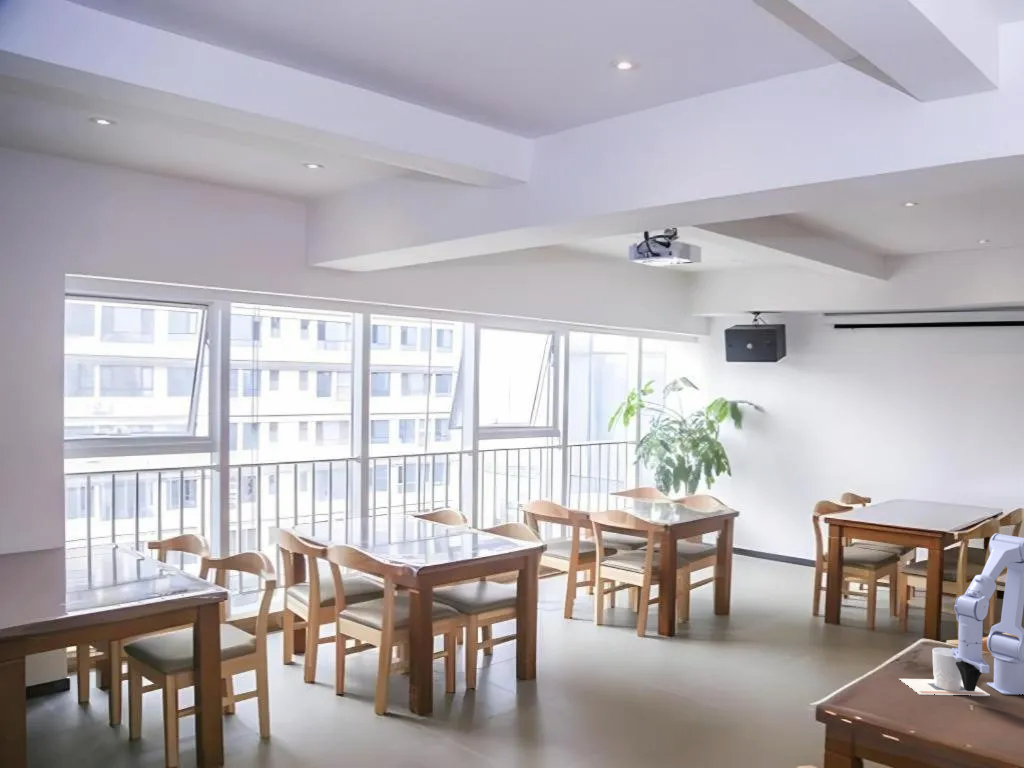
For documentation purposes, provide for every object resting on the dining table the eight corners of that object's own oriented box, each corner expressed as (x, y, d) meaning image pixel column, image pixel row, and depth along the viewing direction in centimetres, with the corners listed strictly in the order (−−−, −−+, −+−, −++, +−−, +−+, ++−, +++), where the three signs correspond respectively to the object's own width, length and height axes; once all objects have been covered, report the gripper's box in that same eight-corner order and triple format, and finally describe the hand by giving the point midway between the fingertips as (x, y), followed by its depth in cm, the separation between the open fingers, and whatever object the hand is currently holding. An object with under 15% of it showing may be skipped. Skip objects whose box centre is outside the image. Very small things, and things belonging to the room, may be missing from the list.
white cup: (968, 692, 227) (969, 656, 227) (940, 691, 228) (941, 656, 228) (953, 682, 235) (954, 647, 235) (926, 681, 235) (927, 647, 235)
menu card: (966, 680, 237) (966, 679, 237) (990, 696, 225) (990, 695, 225) (898, 679, 237) (898, 678, 237) (919, 694, 225) (919, 694, 225)
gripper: (941, 632, 228) (940, 680, 228) (971, 648, 213) (970, 700, 213) (966, 632, 228) (965, 680, 228) (997, 649, 213) (996, 700, 213)
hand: (969, 690), depth 220 cm, fingers closed
